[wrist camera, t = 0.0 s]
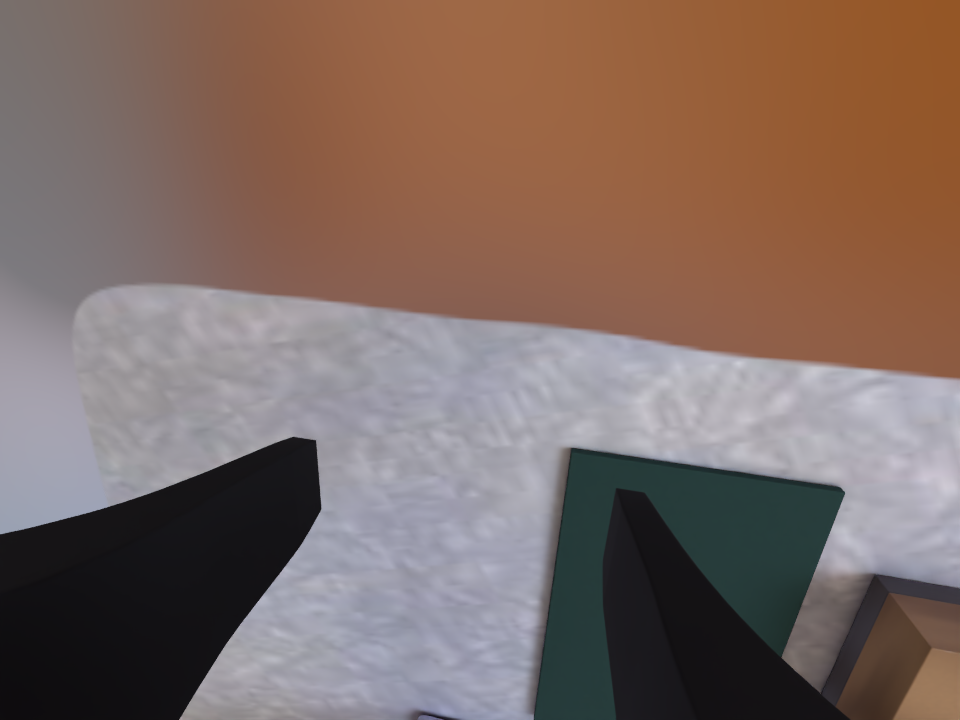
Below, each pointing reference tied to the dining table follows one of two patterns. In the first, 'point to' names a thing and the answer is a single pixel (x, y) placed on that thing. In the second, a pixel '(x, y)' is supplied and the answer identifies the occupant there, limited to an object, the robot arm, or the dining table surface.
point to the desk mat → (705, 537)
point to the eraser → (900, 655)
